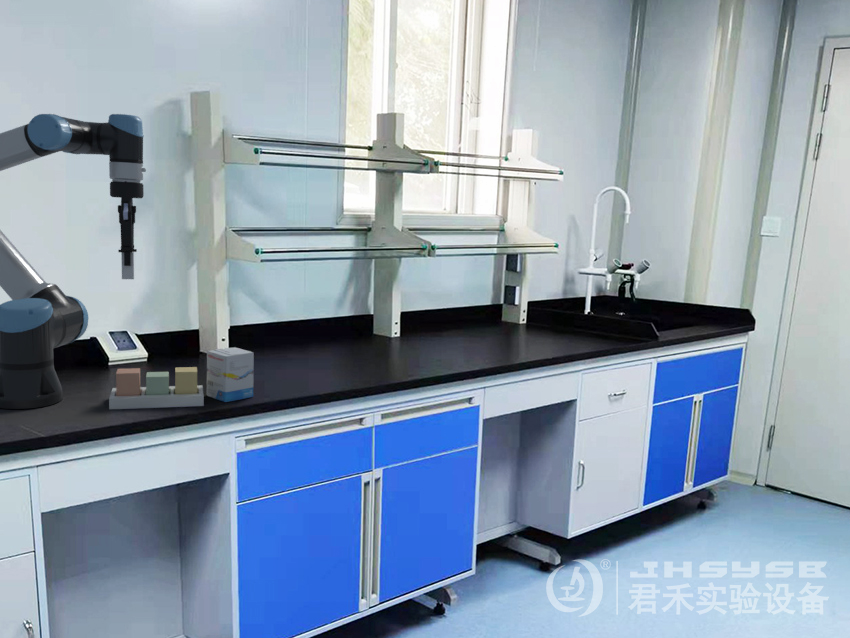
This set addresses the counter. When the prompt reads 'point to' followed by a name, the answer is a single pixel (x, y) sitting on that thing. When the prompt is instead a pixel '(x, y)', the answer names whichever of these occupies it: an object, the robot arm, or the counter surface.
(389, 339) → the counter surface
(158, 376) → the sage button
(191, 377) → the ochre button
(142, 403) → the board
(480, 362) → the counter surface
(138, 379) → the terracotta button
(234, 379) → the ink box
